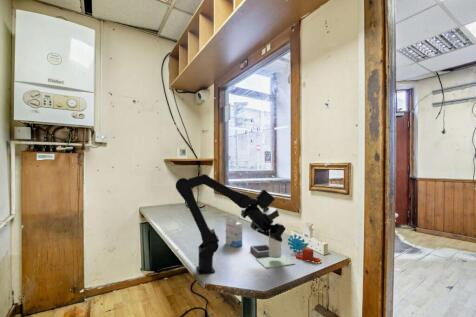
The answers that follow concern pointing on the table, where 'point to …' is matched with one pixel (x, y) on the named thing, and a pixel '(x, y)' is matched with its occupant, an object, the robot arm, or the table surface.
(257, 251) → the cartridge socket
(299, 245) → the gear
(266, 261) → the pad
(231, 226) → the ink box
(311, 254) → the bracket
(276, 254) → the cylinder
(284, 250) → the table surface
